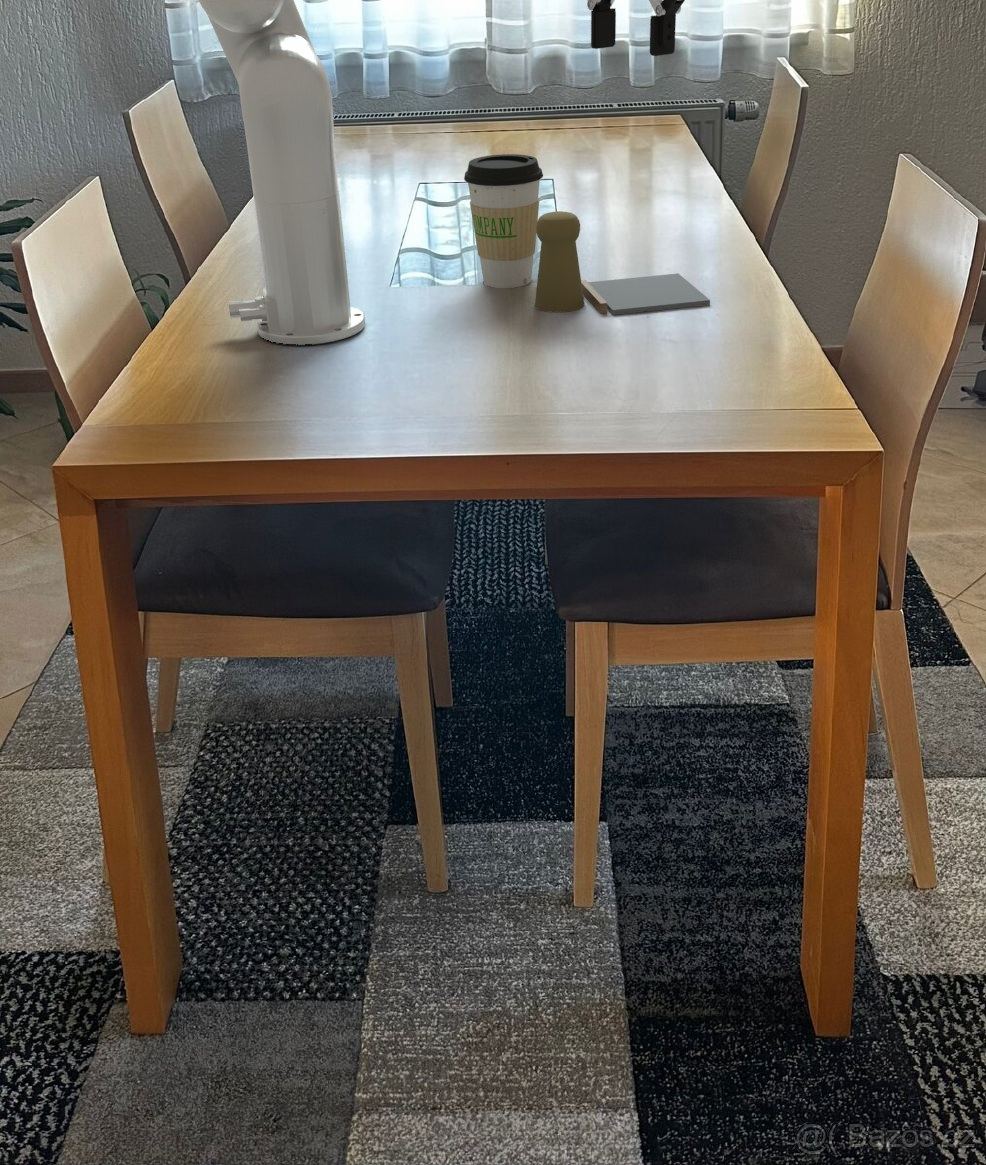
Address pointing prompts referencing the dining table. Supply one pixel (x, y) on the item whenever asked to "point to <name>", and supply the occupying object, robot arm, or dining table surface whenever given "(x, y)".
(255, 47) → the robot arm
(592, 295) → the walnut strip
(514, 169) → the coffee cup
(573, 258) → the cork
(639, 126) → the dining table surface
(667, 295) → the charcoal mat
